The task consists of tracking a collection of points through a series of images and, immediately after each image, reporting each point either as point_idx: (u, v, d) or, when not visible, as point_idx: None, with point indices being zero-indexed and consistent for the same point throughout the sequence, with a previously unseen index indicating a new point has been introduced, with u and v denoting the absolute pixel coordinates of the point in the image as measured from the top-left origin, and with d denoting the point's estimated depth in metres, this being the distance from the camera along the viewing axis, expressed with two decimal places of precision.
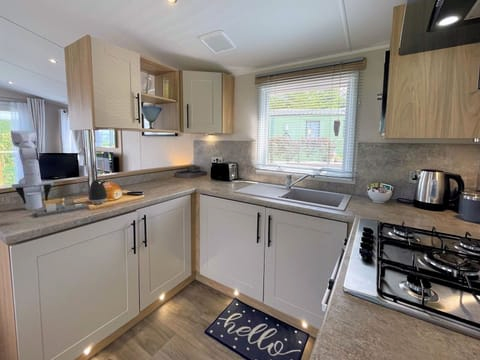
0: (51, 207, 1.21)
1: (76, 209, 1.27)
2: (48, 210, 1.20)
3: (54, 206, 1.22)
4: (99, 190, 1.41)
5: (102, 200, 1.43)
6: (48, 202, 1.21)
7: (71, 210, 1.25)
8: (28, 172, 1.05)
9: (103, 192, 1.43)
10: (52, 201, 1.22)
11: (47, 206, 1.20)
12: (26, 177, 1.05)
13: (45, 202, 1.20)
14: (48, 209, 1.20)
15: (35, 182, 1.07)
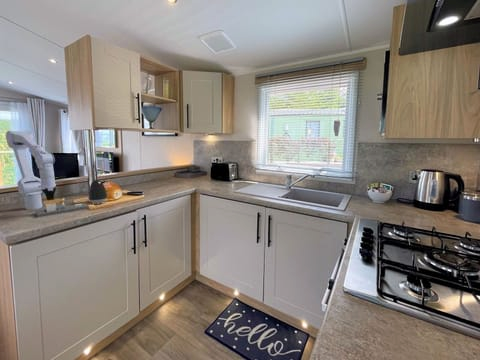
0: (51, 207, 1.21)
1: (76, 209, 1.27)
2: (48, 210, 1.20)
3: (54, 206, 1.22)
4: (99, 190, 1.41)
5: (102, 200, 1.43)
6: (48, 202, 1.21)
7: (71, 210, 1.25)
8: (47, 175, 1.18)
9: (103, 192, 1.43)
10: (52, 201, 1.22)
11: (47, 206, 1.20)
12: None
13: (45, 202, 1.20)
14: (48, 209, 1.20)
15: (41, 184, 1.19)
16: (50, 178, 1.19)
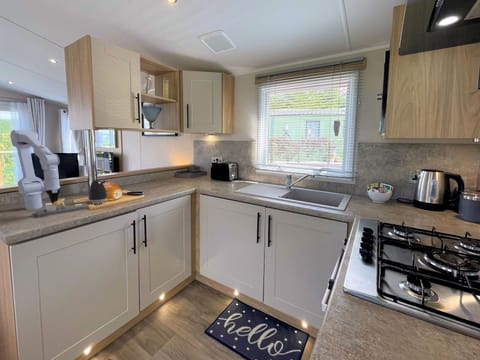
0: (51, 207, 1.21)
1: (76, 209, 1.27)
2: (48, 210, 1.20)
3: (54, 206, 1.22)
4: (99, 190, 1.41)
5: (102, 200, 1.43)
6: (59, 203, 1.20)
7: (71, 210, 1.25)
8: (51, 177, 1.16)
9: (103, 192, 1.43)
10: (60, 201, 1.22)
11: (47, 206, 1.20)
12: None
13: (57, 203, 1.19)
14: (48, 209, 1.20)
15: (45, 186, 1.17)
16: (54, 180, 1.17)
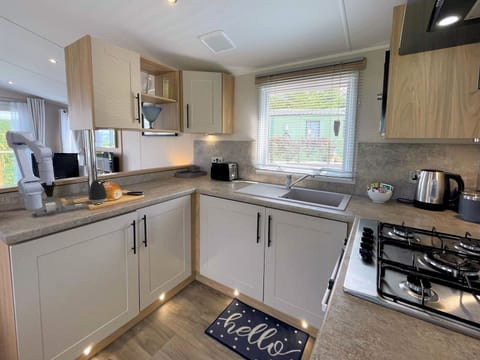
0: (51, 207, 1.21)
1: (76, 209, 1.27)
2: (48, 210, 1.20)
3: (54, 206, 1.22)
4: (99, 190, 1.41)
5: (102, 200, 1.43)
6: (66, 202, 1.22)
7: (71, 210, 1.25)
8: (45, 169, 1.17)
9: (103, 192, 1.43)
10: None
11: (47, 206, 1.20)
12: None
13: None
14: (48, 209, 1.20)
15: (40, 179, 1.17)
16: (49, 172, 1.18)
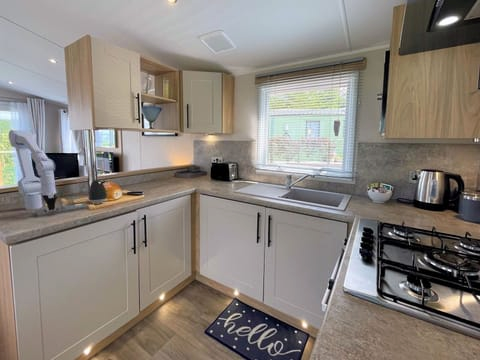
0: None
1: (76, 209, 1.27)
2: (48, 210, 1.20)
3: None
4: (99, 190, 1.41)
5: (102, 200, 1.43)
6: None
7: (71, 210, 1.25)
8: (47, 182, 1.18)
9: (103, 192, 1.43)
10: None
11: (47, 206, 1.20)
12: None
13: None
14: (48, 209, 1.20)
15: (42, 191, 1.19)
16: (50, 185, 1.19)
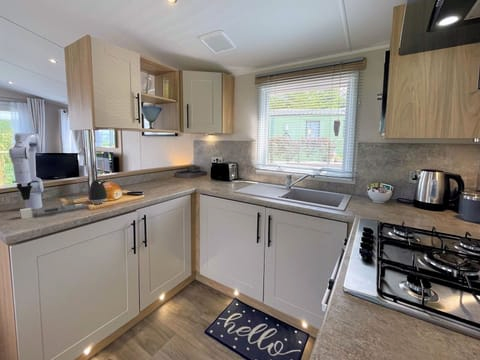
0: (26, 213, 1.15)
1: (76, 209, 1.27)
2: (23, 216, 1.14)
3: (29, 212, 1.15)
4: (99, 190, 1.41)
5: (102, 200, 1.43)
6: None
7: (71, 210, 1.25)
8: (17, 170, 1.12)
9: (103, 192, 1.43)
10: None
11: (22, 212, 1.13)
12: None
13: None
14: (23, 215, 1.14)
15: None
16: (25, 173, 1.14)
